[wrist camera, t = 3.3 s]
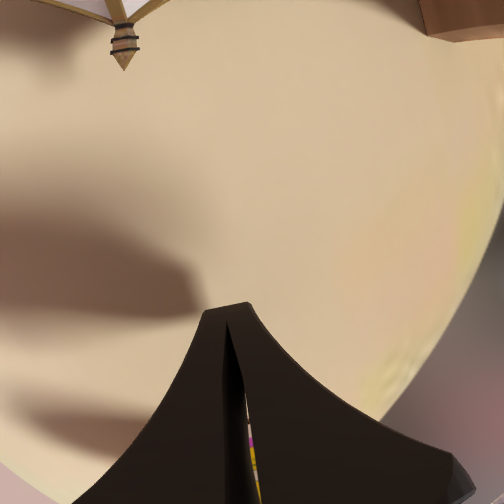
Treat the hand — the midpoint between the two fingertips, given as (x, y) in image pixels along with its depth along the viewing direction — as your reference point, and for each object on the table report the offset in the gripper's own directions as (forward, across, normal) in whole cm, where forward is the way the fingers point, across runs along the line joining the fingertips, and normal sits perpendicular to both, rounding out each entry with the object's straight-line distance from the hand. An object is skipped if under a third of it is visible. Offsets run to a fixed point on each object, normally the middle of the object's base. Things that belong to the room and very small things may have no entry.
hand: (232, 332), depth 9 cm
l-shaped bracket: (+2, -5, -20) cm, 21 cm away
